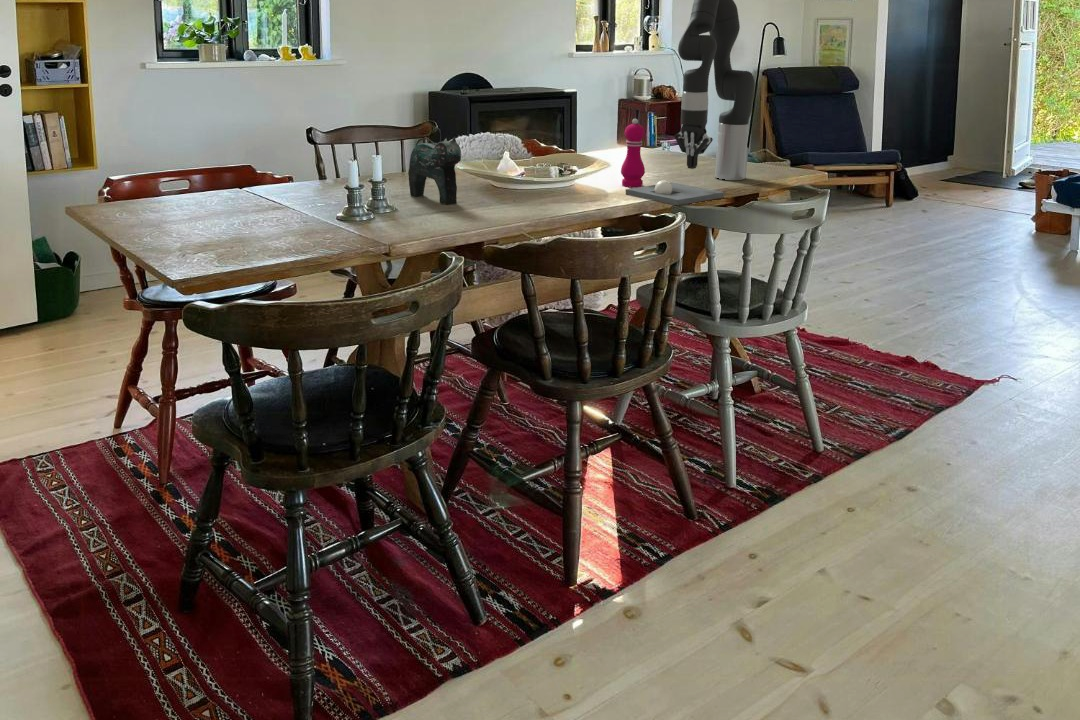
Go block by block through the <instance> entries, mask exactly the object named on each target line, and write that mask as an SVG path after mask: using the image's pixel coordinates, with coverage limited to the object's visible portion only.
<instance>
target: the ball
mask: <svg viewBox="0 0 1080 720" xmlns="http://www.w3.org/2000/svg"><path fill="white" fill-rule="evenodd" d="M670 183H671V182H669V181H668V180H665V179H664V180H663V179H662V180H659V181H658V182H656V183H655V184H654V185H655V193H658V194H663V195H670V194H671V192H672V185H671V184H670Z"/></svg>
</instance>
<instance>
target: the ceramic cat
mask: <svg viewBox="0 0 1080 720" xmlns="http://www.w3.org/2000/svg"><path fill="white" fill-rule="evenodd" d="M436 130H437V131H438V132H439V137H440V138H439V142H434V141H432V140H431V139H430V138H428V137H422V138H420V139H418V141H417V142H416V143H415V145H414V147H413V149H412V150H411V153H410V157H409V163H408V164H409V165H408V166H409V167H408V171H407V173H408V184H409V185H408V186H409V193H410V196H412V197H415V198H418V197H423V196H424V193H425V188H426V181H427V178H428V179H432V180H433V181H434V182H435V185H436V186H437V189H438V194H439V195H438V196H439V203H440V205H441V204H442V205H446V206H448V205H449V206H450V205H456V204H457V202H458V201H457V199H458V197H457V190H458V186H457V173H456V170H455V165H456V164H459V163H460V162H461V158H462V151H461V147H460V145H459V144H458V143H457V138H456V137H455V136H454V137H453V138H452V139H451V140H447V138H445V139H444V140H443V141H442V133H441V129H440V128H439V127H435V128H434V130H433V131H432V132H433V133H435V131H436ZM425 140H427V141H429V142H425V143H424V142H423V143H420V142H421V141H425Z"/></svg>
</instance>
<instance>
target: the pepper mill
mask: <svg viewBox="0 0 1080 720" xmlns="http://www.w3.org/2000/svg"><path fill="white" fill-rule="evenodd" d="M645 134H646V132H645V129H644V126H642V125H641V124H639V120H638V119H637V118H633V119H632V121H631V124H629V125H627V126H626V127H625V130H624V137H625V138H626V140H625V146H626V148H627V149H626V155H625V159H624V160H623V163H622V165H621V167H620V168H621V169H620V174H621V175H622V177H623V178H622V180H621V185H622V186H623V187H625V188H638V187H644V186H643V184H644V182H643V179H642V177H644V176H645V174H646V171H645V169H646V168H645V164H644V162H643V159H642V155H641V147H642V146H643V142H644V141H643V138H644V137H645Z"/></svg>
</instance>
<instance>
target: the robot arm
mask: <svg viewBox="0 0 1080 720" xmlns="http://www.w3.org/2000/svg"><path fill="white" fill-rule="evenodd" d="M740 29H741V27H740V19H739V10H738V6H737V4H736V2H735V1H734V0H693V3H692V8H691V13H690V18H689V22H688V24H687V26H686V28H685V30H684V32H683V34H682V36H681V37H680V40H679V41H678V42H679V43H678V46H677V52H678V55H679V57H680V58H681V59H682V60H683V61H688V62H689V61H690V62H691V61H692V62H693V61H694V62H701V64H700V66H699V67H697V68H692V69H688V70H686V71H684V73H683V85H682V96H681V105H680V106H681V110H680V112H681V113H680V124H681V127H680V131H679V132H678V133H676V134H674V136H673V137H674V139H675V141H676V143H677V145H678V147H679V149H680V151H681V152H682V153H685V155H686V166H687V169H690V170H694V169H695V170H696V168H697V167H698V159H699V158H698V157H699V155H702V154H704V153H705V152H706V151H707V149H708V148H709V146H710V145H711V143H712V142H713V141H714V140H713V137H709V136H708V134H707V129H706V128H707V127H706V126H707V124H708V112H709V78H710V72H711V68H712V65H713V72H714V73H713V74H714V85H715V87H714V88H715V91H716V94H717V97H718V98H719V99H721V100H724V101H730V102H731V101H733V106H732V108H730V109H728V110H726V111H723V112H721V113H720V114H719V115H718V126H717V127H718V128H717V129H718V130H717V140H716V141H717V145H716V156H715V171H714V178H715V177H716V178H715V179H717V178H719V179H718V180H722V179H725V180H724V181H742V180H745V179H746V178H747V171H748V169H747V168H748V155H749V147H748V145H747V144H748V137H749V136H748V135H749V134H748V133H749V122H750V121H749V120H750V117H751V114H752V109H753V101H754V93H755V78H754V75H753V73H752V72H751V71H749V70H739V69H738V70H737V69H733V68H732V64H731V53H732V49H733V48H734V45H735V42H736V41H737V39H738V36H739V32H740ZM705 33H709V34H705ZM712 63H713V64H712Z"/></svg>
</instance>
